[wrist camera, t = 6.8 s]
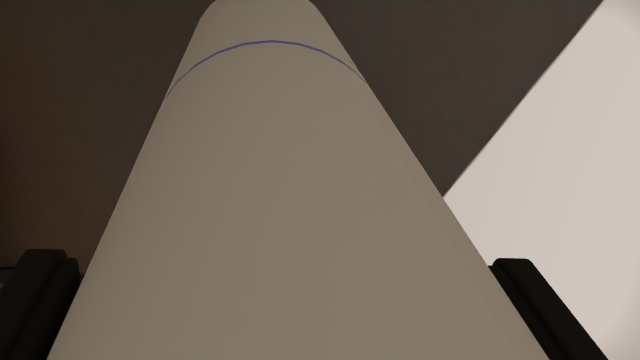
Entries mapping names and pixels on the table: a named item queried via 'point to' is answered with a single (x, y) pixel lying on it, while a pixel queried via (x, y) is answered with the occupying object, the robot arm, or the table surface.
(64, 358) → the cylindrical container
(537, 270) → the robot arm
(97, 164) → the table surface
